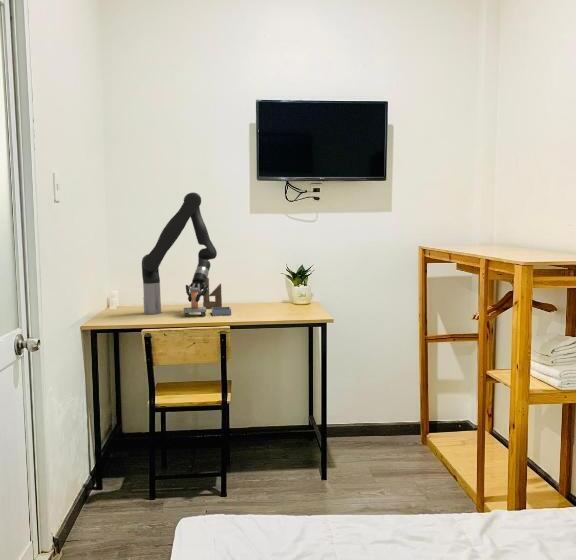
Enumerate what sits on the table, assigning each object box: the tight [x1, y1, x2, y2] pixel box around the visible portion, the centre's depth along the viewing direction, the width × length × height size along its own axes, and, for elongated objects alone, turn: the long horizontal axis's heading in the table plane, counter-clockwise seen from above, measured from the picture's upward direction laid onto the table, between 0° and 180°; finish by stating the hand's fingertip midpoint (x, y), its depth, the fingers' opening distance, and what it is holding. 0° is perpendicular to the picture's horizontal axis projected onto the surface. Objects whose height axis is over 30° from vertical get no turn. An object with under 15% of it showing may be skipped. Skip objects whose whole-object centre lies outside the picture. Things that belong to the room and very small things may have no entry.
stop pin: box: [189, 287, 199, 309], centre depth 321 cm, size 5×5×11 cm
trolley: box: [183, 306, 207, 318], centre depth 322 cm, size 12×8×4 cm, turn 100°
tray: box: [211, 306, 232, 316], centre depth 326 cm, size 10×10×3 cm
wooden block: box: [202, 277, 223, 309], centre depth 346 cm, size 4×11×18 cm, turn 101°
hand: (193, 300), depth 319 cm, fingers closed on stop pin, 3 cm apart
